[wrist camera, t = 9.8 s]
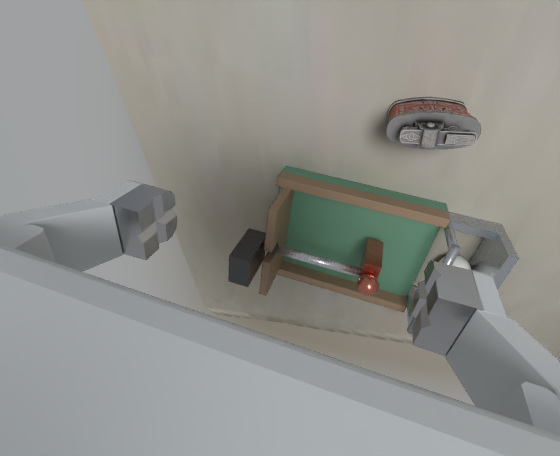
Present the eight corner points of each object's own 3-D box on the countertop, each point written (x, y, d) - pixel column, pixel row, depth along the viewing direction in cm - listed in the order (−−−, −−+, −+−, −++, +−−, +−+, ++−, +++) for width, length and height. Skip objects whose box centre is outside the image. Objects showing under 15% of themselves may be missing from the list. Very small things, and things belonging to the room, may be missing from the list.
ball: (482, 270, 40) (449, 266, 40) (467, 293, 42) (437, 289, 42) (469, 250, 43) (439, 246, 43) (456, 273, 45) (428, 268, 45)
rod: (385, 242, 42) (382, 301, 34) (377, 265, 45) (371, 326, 36) (262, 210, 46) (229, 255, 37) (259, 232, 48) (228, 281, 39)
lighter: (386, 126, 38) (383, 155, 30) (390, 96, 36) (388, 117, 28) (462, 130, 36) (480, 161, 28) (470, 97, 34) (493, 121, 26)
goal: (502, 224, 40) (523, 267, 33) (454, 302, 48) (463, 350, 41) (442, 210, 41) (451, 248, 34) (405, 288, 49) (407, 332, 42)
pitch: (446, 203, 40) (457, 249, 32) (403, 293, 50) (404, 346, 41) (286, 165, 44) (261, 198, 36) (273, 255, 53) (251, 297, 45)
